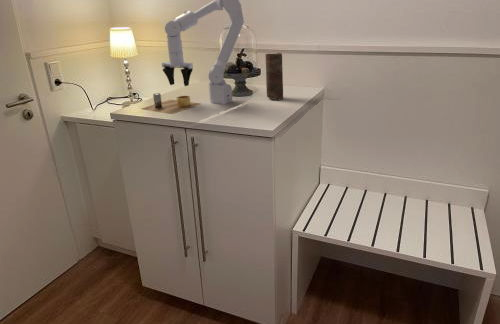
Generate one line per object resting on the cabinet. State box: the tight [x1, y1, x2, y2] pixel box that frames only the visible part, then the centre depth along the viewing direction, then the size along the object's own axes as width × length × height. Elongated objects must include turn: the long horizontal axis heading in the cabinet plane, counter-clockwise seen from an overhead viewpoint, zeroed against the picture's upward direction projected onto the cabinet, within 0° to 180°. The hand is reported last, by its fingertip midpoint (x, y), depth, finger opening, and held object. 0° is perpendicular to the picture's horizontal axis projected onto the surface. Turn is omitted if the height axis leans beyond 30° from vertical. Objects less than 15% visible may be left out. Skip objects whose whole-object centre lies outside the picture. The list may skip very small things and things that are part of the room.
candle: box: [265, 52, 284, 101], centre depth 164 cm, size 8×7×20 cm
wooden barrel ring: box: [176, 95, 192, 107], centre depth 157 cm, size 5×5×4 cm
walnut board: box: [140, 99, 201, 115], centre depth 158 cm, size 18×18×1 cm
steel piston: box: [152, 92, 163, 108], centre depth 156 cm, size 3×3×6 cm
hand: (179, 85), depth 159 cm, fingers open, 7 cm apart
